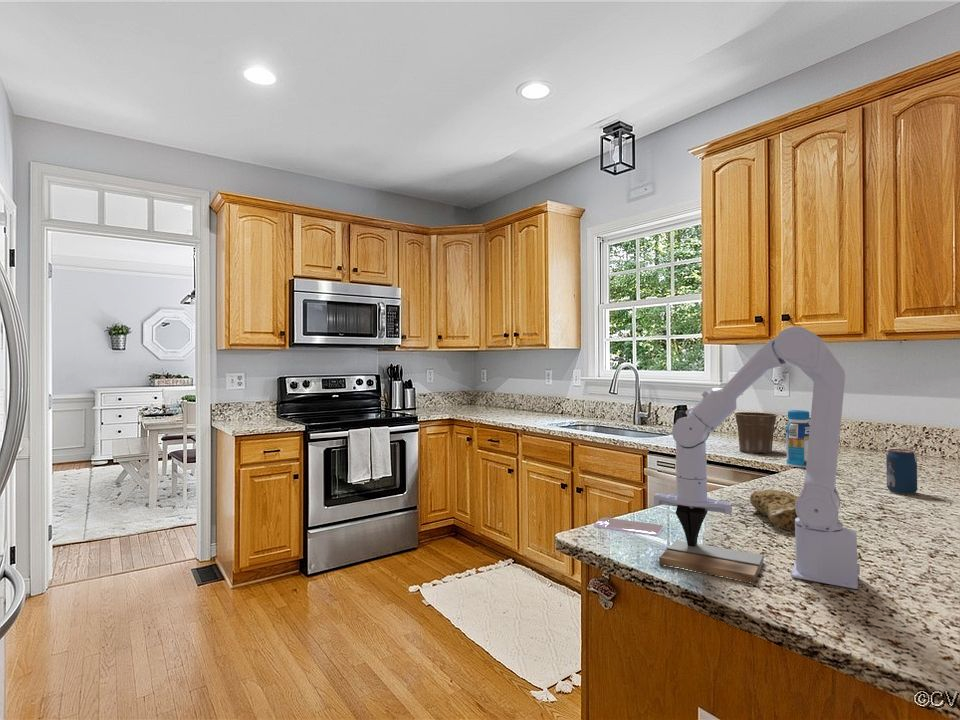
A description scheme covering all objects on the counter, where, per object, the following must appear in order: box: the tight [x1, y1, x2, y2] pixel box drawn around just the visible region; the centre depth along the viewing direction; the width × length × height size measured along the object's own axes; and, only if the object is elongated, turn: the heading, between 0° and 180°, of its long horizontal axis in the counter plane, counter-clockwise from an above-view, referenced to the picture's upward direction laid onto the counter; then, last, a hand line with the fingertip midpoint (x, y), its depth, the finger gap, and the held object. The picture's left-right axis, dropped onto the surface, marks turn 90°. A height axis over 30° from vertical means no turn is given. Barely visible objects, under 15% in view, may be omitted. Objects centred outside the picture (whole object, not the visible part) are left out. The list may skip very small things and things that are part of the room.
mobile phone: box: [593, 516, 665, 537], centre depth 125 cm, size 8×1×15 cm
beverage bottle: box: [785, 409, 810, 469], centre depth 196 cm, size 8×8×20 cm
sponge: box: [749, 489, 799, 531], centre depth 129 cm, size 13×8×20 cm
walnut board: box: [658, 547, 760, 584], centre depth 98 cm, size 16×6×2 cm, turn 56°
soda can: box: [885, 448, 918, 496], centre depth 155 cm, size 7×7×12 cm
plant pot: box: [733, 411, 778, 454], centre depth 228 cm, size 16×16×16 cm
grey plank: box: [668, 539, 764, 572], centre depth 104 cm, size 16×6×2 cm, turn 56°
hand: (692, 544), depth 108 cm, fingers closed
